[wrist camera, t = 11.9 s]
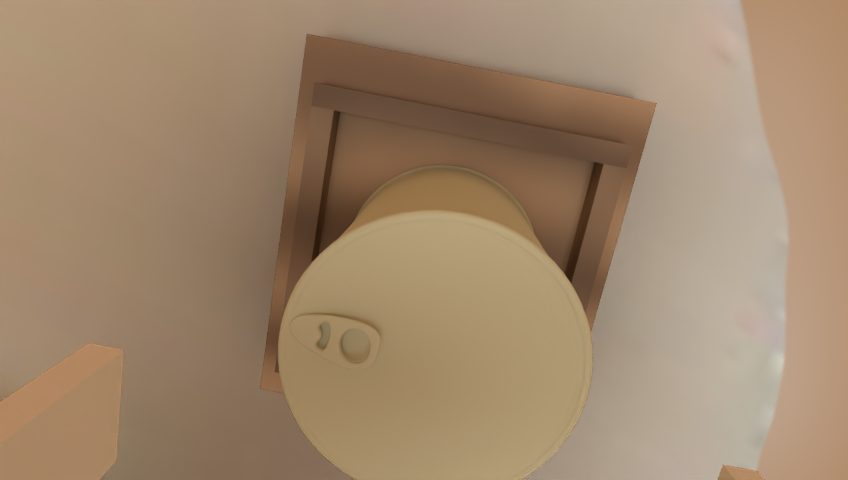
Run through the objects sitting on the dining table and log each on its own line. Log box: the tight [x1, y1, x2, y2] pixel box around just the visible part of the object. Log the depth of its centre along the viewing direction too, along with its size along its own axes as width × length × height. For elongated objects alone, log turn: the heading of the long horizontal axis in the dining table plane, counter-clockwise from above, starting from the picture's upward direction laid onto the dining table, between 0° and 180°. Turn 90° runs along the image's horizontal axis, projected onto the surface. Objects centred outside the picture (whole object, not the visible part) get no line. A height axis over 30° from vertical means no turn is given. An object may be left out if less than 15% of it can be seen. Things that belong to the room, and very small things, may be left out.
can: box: [278, 165, 593, 480], centre depth 21 cm, size 9×9×12 cm
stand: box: [260, 34, 657, 394], centre depth 28 cm, size 18×16×4 cm
